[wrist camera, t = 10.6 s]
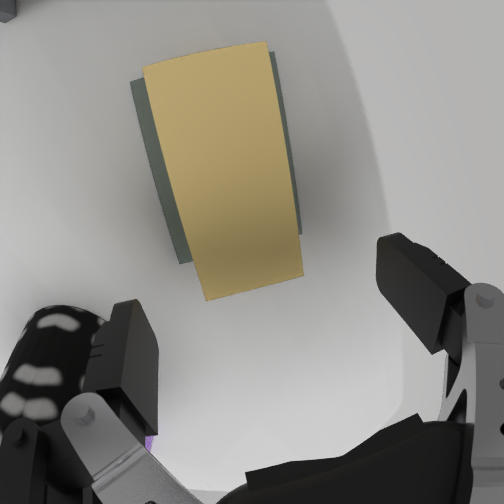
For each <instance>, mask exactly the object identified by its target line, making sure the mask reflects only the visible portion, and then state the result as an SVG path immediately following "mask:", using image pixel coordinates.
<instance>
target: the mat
mask: <svg viewBox="0 0 504 504" xmlns="http://www.w3.org/2000/svg"><path fill="white" fill-rule="evenodd" d="M269 56H270V61H271V67H272V72H273V77H274V82H275V88H276V93H277V98H278V104H279V110H280V115H281V121H282V127H283V133H284V139H285V145H286V151H287V157H288V164H289V170H290V176H291V183H292V190H293V197H294V204H295V211H296V218H297V225H298V233H299V235H300V234H302V228H301V220H300V212H299V204H298V196H297V189H296V182H295V174H294V167H293V161H292V154H291V147H290V141H289V134H288V128H287V122H286V116H285V110H284V104H283V98H282V92H281V86H280V81H279V75H278V70H277V64H276V59H275V54H274V52H269ZM130 85H131V90H132V94H133V98H134V103H135V107H136V111H137V116H138V120H139V124H140V128H141V132H142V136H143V140H144V144H145V148H146V152H147V155H148V159H149V163H150V167H151V170H152V174H153V178H154V181H155V185H156V188H157V192H158V195H159V199H160V202H161V206H162V209H163V212H164V216H165V219H166V222H167V226H168V229H169V232H170V235H171V239H172V242H173V245H174V248H175V251H176V254H177V257H178V261H179V264H183V263H187V262H191V261H193V258H192V255H191V252H190V248H189V245H188V242H187V238H186V235H185V232H184V228H183V225H182V222H181V218H180V215H179V211H178V208H177V204H176V201H175V197H174V194H173V190H172V187H171V183H170V179H169V176H168V172H167V168H166V164H165V161H164V157H163V153H162V149H161V145H160V141H159V138H158V134H157V130H156V126H155V121H154V117H153V113H152V109H151V105H150V101H149V96H148V92H147V88H146V83H145V79H144V78H141V79H138V80H134V81H131V82H130Z"/></svg>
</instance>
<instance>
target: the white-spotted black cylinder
mask: <svg viewBox="0 0 504 504" xmlns="http://www.w3.org/2000/svg"><path fill="white" fill-rule="evenodd" d="M104 322H106V321H104V320H103V319H101V318H100V317H98V316H96V315H94V314H92V313H90V312H88V311H85V310H82V309H79V308H75V307H69V306H50V307H46V308H43V309H41V310H39V311H37V312H36V313H34V314H33V315H32V316H31V317H30V319H29V321H28V322H27V324H26V326H25V328H24V330H23V332H22V334H21V336H20V338H19V340H18V342H17V344H16V346H15V348H14V350H13V352H12V354H11V356H10V358H9V361H8V363H7V365H6V367H5V369H4V372H3V374H2V376H1V378H0V445H1V441H2V437H3V434H4V431H5V430H6V428H7V427H8V425H9V424H10V423H11V422H13V421H14V420H16V419H18V418H22V417H26V418H30V419H31V420H33V421H34V422H35V423H36V424H37V425H38V426H39V427H41V426H44V425H46V424H49V423H51V422H54V421H57V420H59V419H61V414H62V411H63V409H64V407H65V406H66V404H67V403H68V402H69V401H70V400H71V399H73V398H74V397H76V396H78V395H80V394H81V391H82V387H83V382H84V378H85V373H86V369H87V365H88V361H89V359H90V353H91V349H92V348H93V347H92V345H93V341H94V337H95V334H96V332H97V331H98V330H99V328H100V327H101V325H102V324H103V323H104ZM47 492H48V485H47V484H45V486H44V500H43V504H47ZM92 504H103V503H102V502H101V500H100V499H99V498H98V496H97V495H96V493H95V492H94V490H93V488H92Z"/></svg>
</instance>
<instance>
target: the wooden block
mask: <svg viewBox="0 0 504 504" xmlns="http://www.w3.org/2000/svg"><path fill="white" fill-rule="evenodd" d="M142 70H143V74H144V79H145V83H146V88H147V92H148V96H149V101H150V105H151V109H152V113H153V117H154V121H155V126H156V130H157V134H158V138H159V141H160V145H161V149H162V153H163V157H164V161H165V164H166V168H167V172H168V176H169V179H170V183H171V187H172V190H173V194H174V197H175V201H176V204H177V208H178V211H179V215H180V218H181V222H182V225H183V228H184V232H185V235H186V238H187V242H188V245H189V248H190V252H191V255H192V258H193V261H194V265H195V268H196V271H197V274H198V277H199V280H200V283H201V286H202V290H203V293H204V296H205V299H206V301H209V300H213V299H217V298H221V297H225V296H229V295H233V294H237V293H241V292H245V291H249V290H252V289H256V288H260V287H264V286H268V285H271V284H275V283H279V282H283V281H286V280H290V279H294V278H297V277H301V276H304V272H303V264H302V256H301V248H300V240H299V233H298V225H297V218H296V211H295V204H294V197H293V190H292V183H291V176H290V170H289V164H288V157H287V151H286V145H285V139H284V133H283V127H282V121H281V115H280V110H279V104H278V98H277V93H276V88H275V82H274V77H273V72H272V67H271V61H270V56H269V51H268V46H267V42H266V41H265V42H257V43H250V44H243V45H237V46H230V47H225V48H219V49H214V50H209V51H204V52H199V53H195V54H190V55H186V56H182V57H177V58H173V59H170V60H166V61H162V62H158V63H155V64H151V65H148V66H144V67H142Z"/></svg>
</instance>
